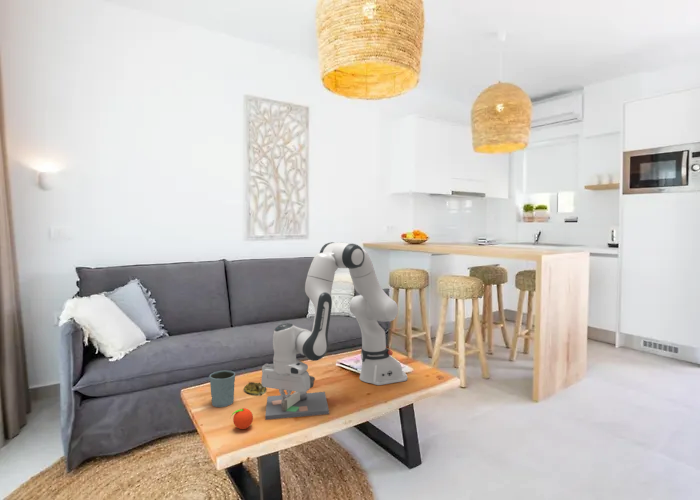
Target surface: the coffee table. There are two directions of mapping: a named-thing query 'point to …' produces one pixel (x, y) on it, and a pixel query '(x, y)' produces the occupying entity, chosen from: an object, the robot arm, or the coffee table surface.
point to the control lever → (293, 399)
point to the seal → (254, 389)
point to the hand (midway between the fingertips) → (285, 399)
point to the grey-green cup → (222, 388)
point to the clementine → (242, 418)
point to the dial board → (297, 407)
